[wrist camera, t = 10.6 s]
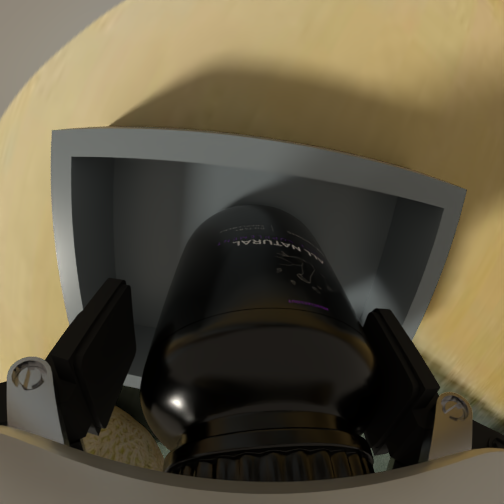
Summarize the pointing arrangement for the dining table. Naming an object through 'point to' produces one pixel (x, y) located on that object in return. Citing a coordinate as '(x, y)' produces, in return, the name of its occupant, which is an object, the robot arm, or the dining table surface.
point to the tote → (235, 194)
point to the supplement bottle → (260, 358)
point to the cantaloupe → (125, 442)
